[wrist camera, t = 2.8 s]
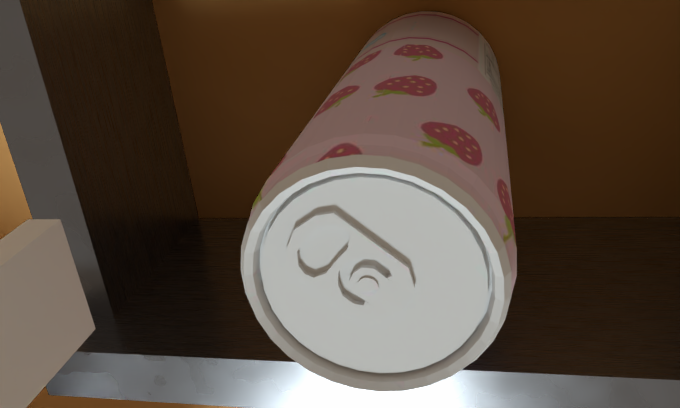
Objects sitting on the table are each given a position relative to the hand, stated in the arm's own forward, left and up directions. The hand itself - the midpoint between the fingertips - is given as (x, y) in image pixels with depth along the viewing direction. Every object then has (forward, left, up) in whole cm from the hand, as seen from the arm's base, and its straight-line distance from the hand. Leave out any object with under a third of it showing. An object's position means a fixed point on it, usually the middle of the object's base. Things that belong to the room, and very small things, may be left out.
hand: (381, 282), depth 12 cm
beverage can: (0, 0, -15) cm, 15 cm away
